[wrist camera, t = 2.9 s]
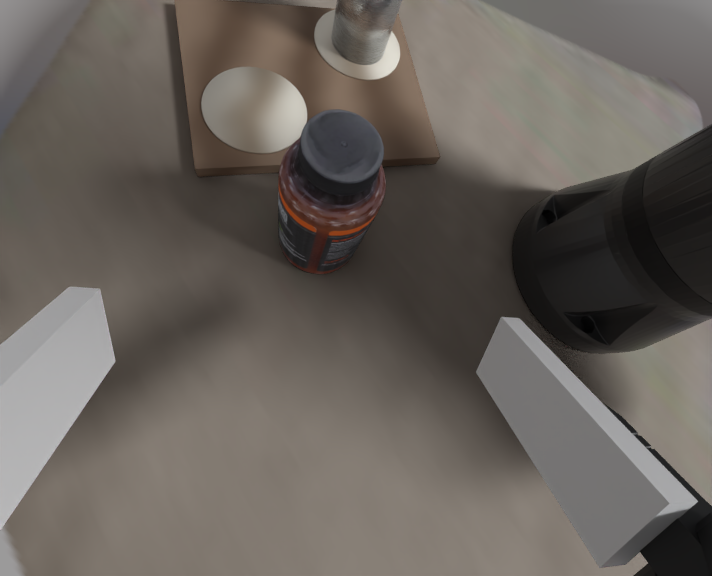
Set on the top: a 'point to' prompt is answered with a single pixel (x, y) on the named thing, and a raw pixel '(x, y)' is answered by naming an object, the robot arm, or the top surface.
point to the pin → (363, 29)
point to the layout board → (288, 85)
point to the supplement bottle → (329, 190)
